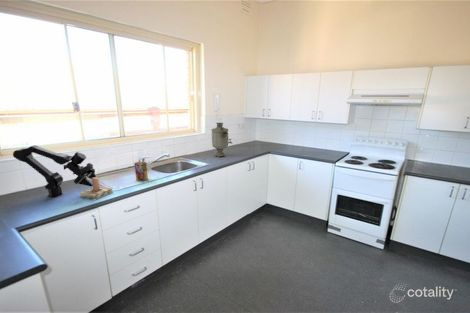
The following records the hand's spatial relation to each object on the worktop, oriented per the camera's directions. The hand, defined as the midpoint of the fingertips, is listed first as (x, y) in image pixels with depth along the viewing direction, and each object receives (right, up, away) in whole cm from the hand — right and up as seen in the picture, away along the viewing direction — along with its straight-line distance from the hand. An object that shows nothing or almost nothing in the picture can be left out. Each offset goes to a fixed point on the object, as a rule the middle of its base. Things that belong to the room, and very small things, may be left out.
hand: (95, 183), depth 162 cm
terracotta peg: (0, -8, +2) cm, 8 cm away
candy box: (+19, -1, +33) cm, 39 cm away
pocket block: (0, -8, +2) cm, 8 cm away
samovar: (+83, +19, +117) cm, 144 cm away
